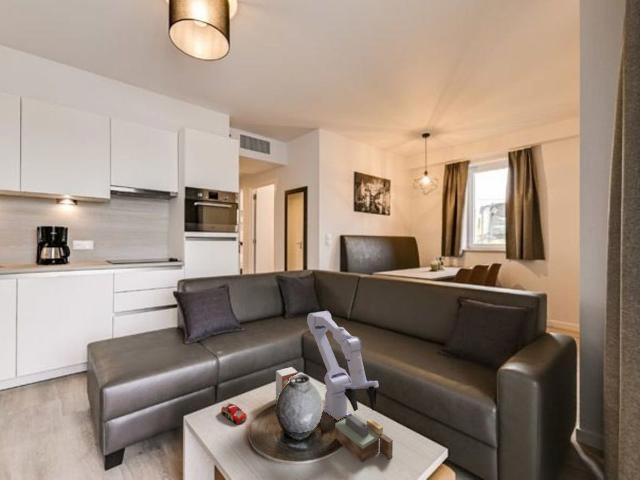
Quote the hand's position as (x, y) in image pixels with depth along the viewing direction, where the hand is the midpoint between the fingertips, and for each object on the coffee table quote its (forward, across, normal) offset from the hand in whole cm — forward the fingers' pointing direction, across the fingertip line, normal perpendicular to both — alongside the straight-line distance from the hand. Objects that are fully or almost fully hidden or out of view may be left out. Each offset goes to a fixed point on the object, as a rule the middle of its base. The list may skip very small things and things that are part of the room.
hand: (364, 409), depth 112 cm
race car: (-4, -52, -17) cm, 54 cm away
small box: (-4, -41, +5) cm, 42 cm away
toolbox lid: (+7, -3, -4) cm, 9 cm away
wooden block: (+6, +3, -1) cm, 7 cm away
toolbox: (+11, -2, -3) cm, 12 cm away
